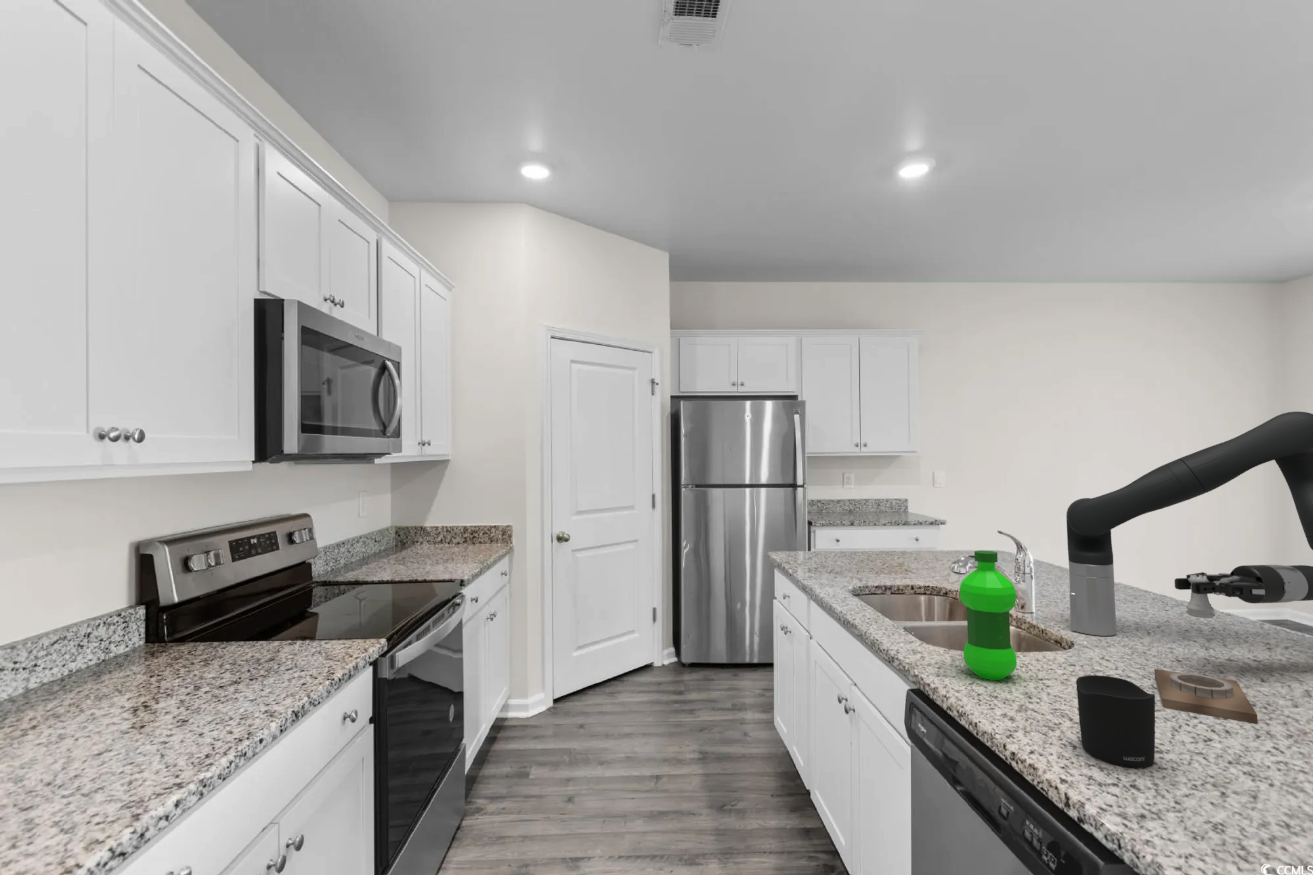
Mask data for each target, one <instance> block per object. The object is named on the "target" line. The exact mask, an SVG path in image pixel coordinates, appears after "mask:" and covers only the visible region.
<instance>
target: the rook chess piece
mask: <svg viewBox="0 0 1313 875" xmlns="http://www.w3.org/2000/svg"><path fill="white" fill-rule="evenodd" d="M1188 581H1189V582H1190V583H1191V586H1190V588H1191V589H1190V591H1191V592H1190V599H1189V601H1188V604H1186V606H1185V608H1186V609H1187V610H1186V611H1185V613H1186V614H1187V615H1188V616H1190V617H1193V618H1194V617H1195V618H1199V619H1212V618H1214V617H1215V616H1216V614H1215V613H1214V612H1215V608H1214V607H1213V606H1212V604H1211V602H1210V600H1209V597H1208V595H1209V594H1195V593H1193V592H1192V583H1193V582H1209V581H1208V580H1207V577H1206V576H1203V577H1202V575H1199V577H1197V576H1196V575H1190V578H1189V579H1188Z"/></svg>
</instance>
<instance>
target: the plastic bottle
mask: <svg viewBox="0 0 1313 875" xmlns="http://www.w3.org/2000/svg"><path fill="white" fill-rule="evenodd" d="M998 559H999V558H998V551H993V550H974V561H975V562H977V568H976V569H974V570H973V571H971V572H970V573H969V574H968V575H967V576H964V578H963V579H962V580H961V583H960V586H959V599H960V602H961V603H962V604H963V605H964V606H965V607H966V618H967V619H966V620H967V622H966V623H967V626H966V628H967V641H966V642H965V645H964V648H963V653H962V654H963V659H964V663H965V665H966V666H967V667H968V668H969V669H970V670H971V671H972V672H973V673H975V675H976V676H978V677H980V678H982V679H986V680H992V681H1001V680H1005V678H1007V677H1008V676H1010V675H1011V674H1012V673H1014V672H1015V670H1016V669H1017V668H1016V667H1017V653H1016V652H1015V650H1014V647H1013V646H1012V644H1011V626H1010V625H1011V620H1010V612H1011V610H1012V609H1014V607H1015V606H1016V603H1017V594H1016V591H1017V590H1016V588H1015V586H1014V584H1013V583H1012V582H1011V581H1010V580H1009V579H1008V578H1007V577H1006V576H1005V575H1004V574H1002V573H1001V572H1000V571H999V570H997V569H996V563H998Z"/></svg>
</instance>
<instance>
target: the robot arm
mask: <svg viewBox="0 0 1313 875" xmlns="http://www.w3.org/2000/svg"><path fill="white" fill-rule="evenodd" d="M1272 461H1275V463H1276V465H1277V466H1278V468H1279V470H1280V471H1281V474H1282V475H1283V477H1284V480H1285V482H1286V484H1287V487H1288V489H1289V491H1290V494H1291V498H1292V500H1293V502H1294V506H1295V509H1296V512H1297V515H1298V519H1299V522H1300V524H1301V527H1302V531H1303V533H1304V536H1305V538H1306V541H1307V544H1308V546H1309V548H1310V549H1311V550H1312V551H1313V413H1312V412H1311V413H1310V412H1308V411H1288V412H1283V413H1281V414H1278V415H1276V416H1274V417H1272V418H1270V419H1268V420H1266V421H1265V422H1262V423H1261V424H1259V425H1257V426H1255V427H1254V428H1251V429H1249V430H1247V431H1246V432H1244V433H1241V434H1240V435H1238V436H1235V437H1233V438H1230V439H1228V440H1226V441H1223V442H1220V443H1217V444H1214V445H1211V446H1208V447H1205V448H1203V449H1201V450H1198V451H1195V452H1192V453H1190V454H1187V455H1185V456H1182V457H1181V456H1180V458H1177V459H1174V460H1171V461H1170V462H1168V463H1165V464H1163V465H1160V466H1158V467H1156V468H1155V469H1152V470H1150V471H1149V472H1147V473H1145V474H1143V475H1142V476H1140V477H1138V478H1137V479H1135V480H1134V481H1131V482H1130V483H1129V484H1127V485H1125V486H1123V487H1121V488H1118V489H1116V490H1113V491H1111V492H1108V493H1104V494H1101V495H1099V496H1095V497H1092V498H1091V497H1084V498H1078V499H1076V500H1074V501H1073V502H1071V504H1069V506H1068V507H1067V510H1066V514H1065V515H1066V516H1065V517H1066V533H1067V534H1066V535H1067V539H1066V540H1067V555H1068V573H1069V574H1068V576H1069V577H1068V579H1069V611H1070V612H1069V613H1070V615H1069V616H1070V617H1069V618H1070V631H1071V632H1077V633H1081V634H1086V635H1092V636H1103V637H1107V636H1109V637H1110V636H1115V635H1117V617H1116V615H1117V614H1116V612H1117V611H1116V598H1115V597H1116V594H1115V572H1114V571H1115V569H1114V553H1113V552H1114V551H1113V543H1112V530H1113V529H1115V528H1117V527H1119V526H1120V525H1123V524H1124V523H1127V522H1129V521H1131V520H1133V519H1135V518H1138V517H1140V516H1142V515H1145V514H1148V513H1152V512H1155V511H1159V510H1162V509H1166V508H1169V507H1171V506H1174V505H1177V504H1181V503H1183V502H1186V501H1190V500H1192V499H1194V498H1197V497H1199V496H1202V495H1204V494H1206V493H1210V492H1211V491H1214V490H1216V489H1218V488H1220V487H1222V486H1223V485H1226V484H1227V483H1229V482H1231V481H1232V480H1234V479H1236V478H1237V477H1239V476H1241V475H1243V474H1244V473H1246V472H1248V471H1249V470H1251V469H1253V468H1255V467H1258V466H1260V465H1263V464H1265V463H1268V462H1269V463H1270V462H1272ZM1190 575H1196V576H1197V577H1199V575H1202V577H1203V576H1206V577H1207V580H1208V581H1209V582H1193V583H1192V592H1193V593H1195V594H1207V595H1210V594H1211V595H1212V594H1213V595H1216V596H1225V597H1228V598H1238V599H1239V600H1241V601H1243V602H1245V603H1248V604H1279V603H1281V604H1282V603H1284V604H1285V603H1292V602H1303V601H1306V602H1307V601H1313V565H1307V564H1306V565H1305V564H1304V565H1302V564H1297V565H1296V564H1295V565H1292V564H1291V565H1283V564H1282V565H1281V564H1256V565H1255V564H1253V565H1251V564H1249V565H1248V564H1247V565H1244V564H1243V565H1239V566H1236V567H1234V569H1232V570H1231V572H1230V573H1225V572H1223V573H1222V572H1220V573H1218V574H1217V573H1216V574H1209V573H1208V574H1207V573H1206V572H1204V571H1203V572H1196V573H1192V574H1186V577H1180V578H1179V577H1178V578H1175V579H1174V588H1175V589H1176V590H1180V591H1183V590H1191V588H1190V586H1191V583H1190V582H1189V581H1188V579H1189V578H1190Z"/></svg>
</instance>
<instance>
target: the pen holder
mask: <svg viewBox="0 0 1313 875" xmlns="http://www.w3.org/2000/svg"><path fill="white" fill-rule="evenodd" d="M1075 683H1076V685H1075V686H1076V695H1077V707H1078V708H1077V709H1078V720H1079V728H1080V729H1079V730H1080V738H1081V745H1082V747H1083V749H1084V750H1085V751H1086V753H1088V754H1090V755H1091V756H1092V757H1094V758H1096V759H1098V760H1101V761H1103V762H1106V763H1108V764H1112V765H1114V766H1115V765H1117V766H1120V767H1125V768H1126V767H1127V768H1134V769H1135V768H1140V769H1141V768H1146V767H1149V766H1151V765H1152V764H1153V763H1154V762H1155V757H1156V755H1155V752H1156V751H1155V750H1156V748H1155V747H1156V745H1155V744H1156V740H1155V739H1156V711H1155V710H1156V695H1155V694H1154V693H1149V692H1147V691H1145V690H1144V689H1142V688H1141V687H1140V686H1138V685H1137V684H1135V683H1133V682H1132V681H1131V680H1127V679H1124V678H1121V677H1115V676H1109V675H1108V676H1107V675H1099V674H1097V675H1095V674H1094V675H1091V674H1090V675H1089V674H1088V675H1083V676H1078V678H1076V681H1075Z"/></svg>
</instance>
